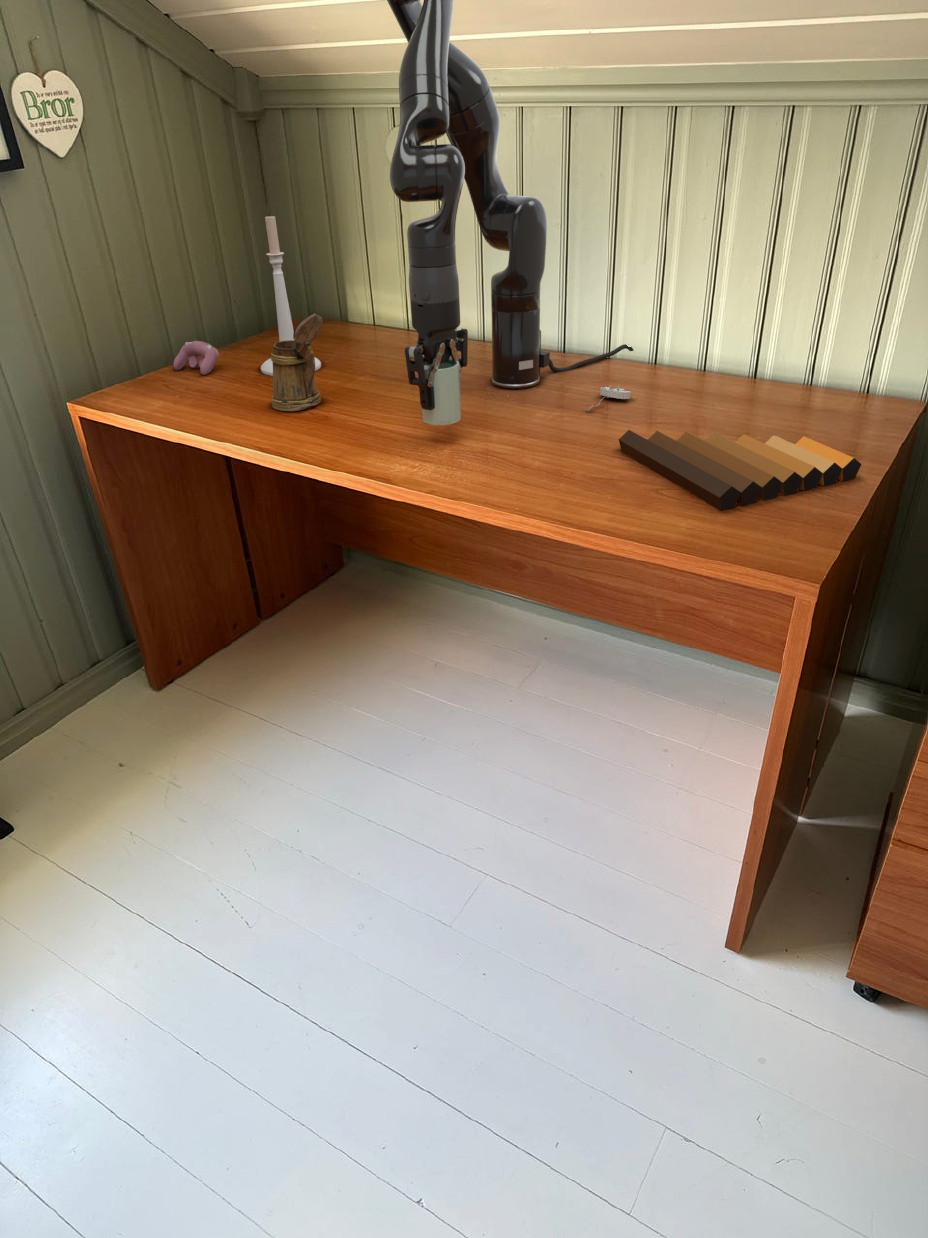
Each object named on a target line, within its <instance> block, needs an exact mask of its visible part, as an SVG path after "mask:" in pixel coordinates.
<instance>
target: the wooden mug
mask: <svg viewBox="0 0 928 1238" xmlns="http://www.w3.org/2000/svg"><path fill="white" fill-rule="evenodd" d="M323 324H324V321H323V316H322V315H321V314H320V313H319V312H316V311H312V312H311V313H310V314H308V315H307V316H305V317H304V318H302V319H301V320H300V321H299V322H298V324H297V325H296V327H295V329H293V330H294V334H293V338H294V340H288V341H281V342H280V341H278V342H276V341H275V342H273V344H272V352H271V354H270V358H271V361H272V362H273V376H272V398H271V407H272V408H273V410H277V411H281V412H301V411H305V410H306V411H307V410H310V409H313V408H315V407H318V406H319V405H320V404H321V401H322V398H321V393H320V392H319V390H318V388H317V387H318V386H317V384H316V380H315V372H316V371H315V358H316V357H315V353H314V351H313V348H312V346H311V345H312V343H313V341H314V340H315V339H316V337H318V335H319V334H320V332H321V330H322V327H323ZM314 357H315V358H314Z"/></svg>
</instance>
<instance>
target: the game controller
mask: <svg viewBox="0 0 928 1238" xmlns="http://www.w3.org/2000/svg"><path fill="white" fill-rule="evenodd" d="M616 387H617V388H612V385H609V386H601V387H600V390H599V395H600V396H603V397H602V398H601V399H600V401H599V403H598V404H597V405H596V406H595V405H594V407H595V408H596V407H598V406H599V405H600V404H601V403H602V400H603V399H604V398H606V399H607V398H613V399H621V400H629V399H631V394H632V391H629V390H625V388H620V385H617V386H616ZM590 409H592V406H590V407H589V408H588V411H587V412H588V413H590Z"/></svg>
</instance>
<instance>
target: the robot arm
mask: <svg viewBox="0 0 928 1238" xmlns="http://www.w3.org/2000/svg"><path fill="white" fill-rule="evenodd" d="M386 1H387V3H388V5H389V7H390V10H391V11H392V13H393V16H394V17H395V20H396V21H397V24H398V25H399V27H400V29H401V31H402V33H403V34H404V37H405V40H406V41H407V46H406V48H405V51H404V54H403V56H402V59H401V63H400V67H399V73H398V74H399V75H398V93H399V94H398V96H399V125H398V126H399V128H398V133H397V139H396V142H395V146H394V150H393V153H392V157H391V161H390V162H391V163H390V168H389V182H390V186H391V189H392V191H393V193H394V195H395V196H396V197H397V198H398V200H400V201H402V202H405V203H406V202H407V203H418V202H437V201H439V202H441V203H440V207H439V209H438V211H437V212H436V213H434V214H433V215H430V216H428V217H427V216H426V217H424V218H420V219H417V220H413V221H412V222H410V223H409V225H408V227H407V231H406V235H407V251H408V264H409V265H408V266H409V270H408V271H409V272H408V287H409V302H410V316H411V317H410V318H411V326H412V328H413V329H414V330H415V331H416V332H417V341H416V344H415V345H413V346H405V348H404V358H405V363H406V370H407V377H408V383H409V385H411V386H417V387H418V388H419V389H418V390H419V403H420V407H422V408H423V409H426V410H432V409H434V408H435V401H434V387H433V386H432V385H433V381H434V373H436V372H437V370H438V369H439V366H440V364H441V363H442V362H443V363H444V364H445V363H449V364H452V365H453V364H454V363H455V362H456V361H458V362H459V369H460V374H461V373H462V368H466V367H467V366H468V349H469V348H468V343H469V341H468V340H469V339H468V337H469V332H468V331H469V330H468V329H467V328H461V327H460V325H461V307H460V305H461V304H460V281H459V280H460V279H459V274H458V268H457V249H456V226H457V225H456V223H457V215H458V209H459V203H460V199H461V195H462V191H463V186H464V182H465V184H466V187H467V190H468V193H469V197H470V200H471V203H472V207H473V210H474V213H475V217H476V220H477V223H478V227H479V229H480V232H481V234H482V236H483V239H484V241H485V242H486V243H487V244H488V245H489V246H490V247H491V248H493V249H496V250H498V251H505V252H508V263H507V266H506V268H504V269H503V270H501V271H498V272H496V273H494V274H493V275H492V277H491V280H490V297H491V298H490V299H491V301H490V303H491V304H490V305H491V308H490V309H491V366H492V367H491V368H492V372H491V373H492V375H491V376H492V377H491V384H492V385H493V386H497V387H499V388H502V389H526V388H531V387H534V386H537V385H538V384H540V379H541V371H542V370H541V369H542V368H546V367H549V369H550V371H552V372H554V373H561V372H562V373H563V372H568V371H572V370H575V369H578V368H580V367H582V366H585V365H588V364H592V363H595V362H598V361H601V360H604V359H606V358H610V357H612V356H615V355H616V354H618V353H620V352H621V351H623V350H625V349H626V350H627V351H629V352H634V351H635V350H634V348H633V347H632V346H631V347H628V346H627V345H626V344H627V343H625V344H621V345H619V346H618V347H616V348H614V349H613V350H611V351H608V352H606V353H601V354H600V355H597V356H594V357H590V358H587V359H584V360H580V361H578V362H576V363H573V364H572V365H569V366H566V367H561V368H560V367H557V366H554V364H553V361H552V359H550V356H551V355H550V351H545V350H544V351H542V331H541V283H542V280H543V277H544V273H545V268H546V253H547V239H548V217H547V212H546V208H545V206H544V204H543V203H542V201H541V200H540V199H539V198H537V197H534V196H529V195H516V194H510V193H509V192H508V190H507V188H506V185H505V183H504V181H503V179H502V175H501V173H500V170H499V166H498V160H497V159H498V158H497V157H498V148H499V142H500V141H499V140H500V133H501V132H500V131H501V117H500V113H499V109H498V106H497V103H496V100H495V97H494V94H493V91H492V89H491V86H490V83H489V81H488V77H487V76H486V74H485V72H484V71H483V69H482V68H481V67H480V66H479V65H478V64H477V63H476V61H474V60H473V59H472V58H471V57H470V56H469V55H468V54H466V52H464V51H463V50H462V49H460V48H459V47H458V46H456V44H454V42H452V41H451V31H452V23H453V22H452V21H453V14H454V5H455V3H454V2H455V1H454V0H423V2H421V0H386ZM444 135H446V137H447V139H448V141H449V144H448V143H447V144H446V143H444V144H428V143H430V142H433V141H436V140H438V139H440V138H442V137H443V136H444ZM459 352H460V355H459ZM425 361H426V362H427V363H428V364H432V365H431V366H427V365H425ZM425 371H428V377H427V379H426V378H425ZM416 373H417V375H416Z"/></svg>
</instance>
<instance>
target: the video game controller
mask: <svg viewBox="0 0 928 1238" xmlns="http://www.w3.org/2000/svg"><path fill="white" fill-rule="evenodd" d="M219 356H220V354H219V350H218V349H217V348H216V347H214V346H213V345H211V344H210V343H208V342H206V341H201V340H193V341H186V342H185V343H184V344H183V345H182V347H181V348H180V350H179V352H178V354H177V355H176V356H175V358H174V360H173V363H172V365H173V369H174V370H175V371H179V370H180V371H181V370H182V369H183V368H184V367H185V366H187V364H188V365H189V367H190V368H193V369H199V372H200V374H201V375H203V376H206V375H208V374H210V373H211V372H212V370H213V369H214V367H215V366H216V364H217V363H216V362H217V361H218V359H219ZM200 357H202V358H201V359H200Z"/></svg>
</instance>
